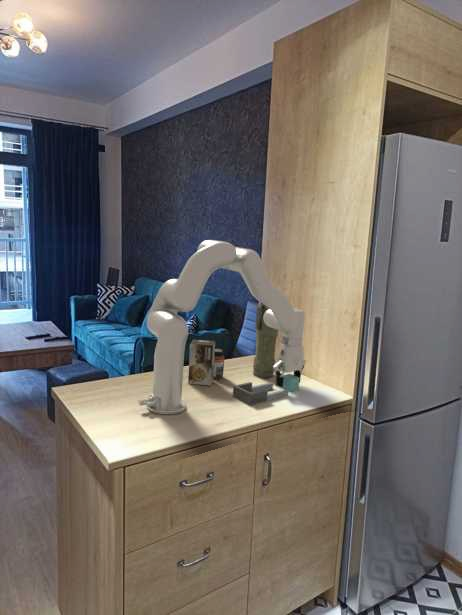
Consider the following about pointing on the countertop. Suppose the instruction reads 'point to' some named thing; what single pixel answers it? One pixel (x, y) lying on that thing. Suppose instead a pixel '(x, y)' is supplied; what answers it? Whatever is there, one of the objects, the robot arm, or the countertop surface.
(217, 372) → the supplement bottle
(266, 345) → the thermos
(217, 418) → the countertop surface
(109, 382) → the countertop surface
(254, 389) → the channel
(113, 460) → the countertop surface
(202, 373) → the coffee box
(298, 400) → the countertop surface
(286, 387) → the teal block
